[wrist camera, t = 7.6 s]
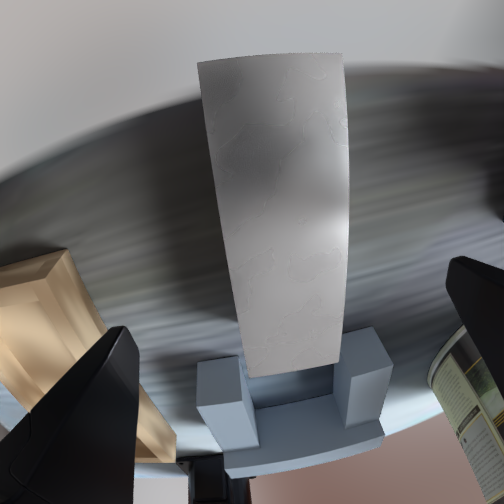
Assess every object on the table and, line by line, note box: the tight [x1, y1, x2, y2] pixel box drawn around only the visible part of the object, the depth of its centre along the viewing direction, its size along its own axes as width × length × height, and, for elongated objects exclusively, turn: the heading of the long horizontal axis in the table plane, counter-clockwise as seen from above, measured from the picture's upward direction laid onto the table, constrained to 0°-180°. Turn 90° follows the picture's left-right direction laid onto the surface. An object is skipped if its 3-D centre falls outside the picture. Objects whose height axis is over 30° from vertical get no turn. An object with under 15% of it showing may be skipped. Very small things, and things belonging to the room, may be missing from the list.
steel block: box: [197, 53, 349, 378], centre depth 12 cm, size 12×4×4 cm, turn 6°
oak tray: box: [0, 249, 176, 463], centre depth 16 cm, size 17×9×3 cm, turn 9°
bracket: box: [196, 326, 393, 479], centre depth 17 cm, size 8×10×4 cm
